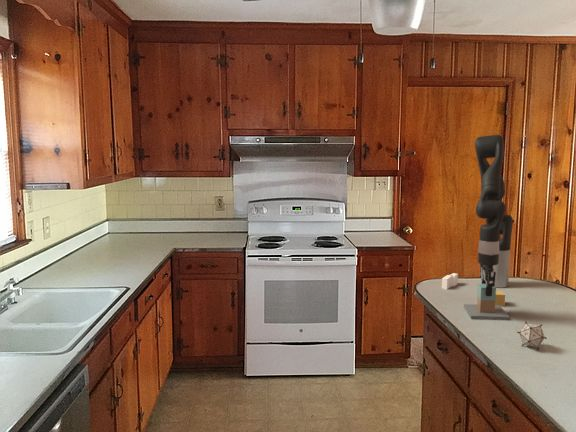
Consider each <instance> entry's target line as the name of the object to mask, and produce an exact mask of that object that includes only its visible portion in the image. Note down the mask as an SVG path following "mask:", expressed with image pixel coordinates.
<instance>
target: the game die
mask: <svg viewBox="0 0 576 432" xmlns="http://www.w3.org/2000/svg"><path fill="white" fill-rule="evenodd" d="M524 323H525V324H524V326H523V327H522V328H521V329H520V331H516V333H517V334H519V336H520V339H521V342H522V344H521V347H524V346H528V347H534V348H536V349H537V350H538V351H539V350H540V348H539V346H541V344H542V342H543V341H544V340H548V338H547V337H546V336H545V335H544V332H543V329H542V327H543V323H541V324H540V325H538V324H531V323H528V322H527V321H526V320H525V321H524Z"/></svg>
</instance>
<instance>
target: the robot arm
mask: <svg viewBox="0 0 576 432" xmlns="http://www.w3.org/2000/svg"><path fill="white" fill-rule="evenodd" d="M504 141H505V140H504V138H503V136H502V135H501V134H491V135H490V134H489V135H483V136H478V137H476V138H475V141H474V149H475V155H476V159H477V163H478V168H479V172H480V173H479V174H480V186H481V188H480V196H479V199H478V201H477V204H476V208H475V214H476V216H477V217H478V218H479V219H485V224H482V225H481V226H480V227H479V241H478V247H477V249H478V250H477V263H478V264H479V266H480V268H479V278H480V281H481V284H486V296H492V287H494V286H495V287H496V288H507V287H509V278H510V277H509V276H510V264H511V261H510V258H511V244H512V233H513V226H514V225H513V223H514V219H513V216H512V215H510V214H506V210H507V206H506V204H505V203H504V201H503V198H504V197H505V193H506V188H505V180H504V178H503V176H502V169H503V164H504V156H505V142H504ZM492 158H494V159H493V161H492V163H491V164H490V163H489V161H488V159H492ZM500 235H502V237H500Z"/></svg>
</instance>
